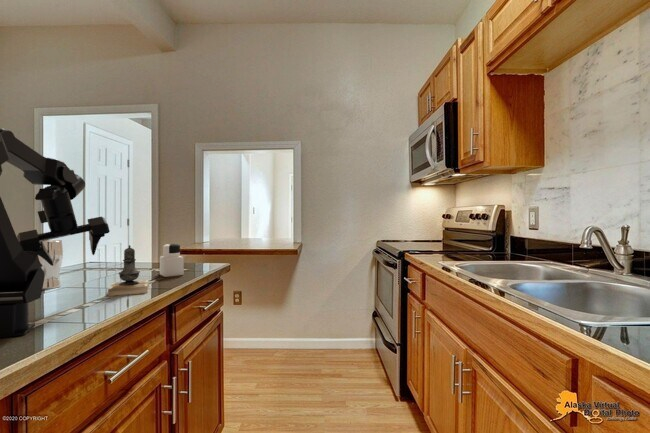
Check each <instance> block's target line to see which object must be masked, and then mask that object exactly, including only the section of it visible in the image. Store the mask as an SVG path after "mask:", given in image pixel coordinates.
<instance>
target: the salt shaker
mask: <svg viewBox="0 0 650 433" xmlns="http://www.w3.org/2000/svg"><path fill="white" fill-rule="evenodd" d="M135 252H136V251H135V249H134V248H132V247H131V245H128V247H127V248H125V249H124V251H123V255H124V256H123V259H122V262H123V267H122V268H123V269H122V270H121V271H120V272H118V273H117V274H118V275H119V278H120V280H121V282H122V283H120V284H119V285H121V286H129V285H136V284H139V282H137V281H138V280H137V279H138V278H139V276H140V273H141V271H140V270H137V268H136V261H137V259H136V258H135V255H136V253H135Z"/></svg>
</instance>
